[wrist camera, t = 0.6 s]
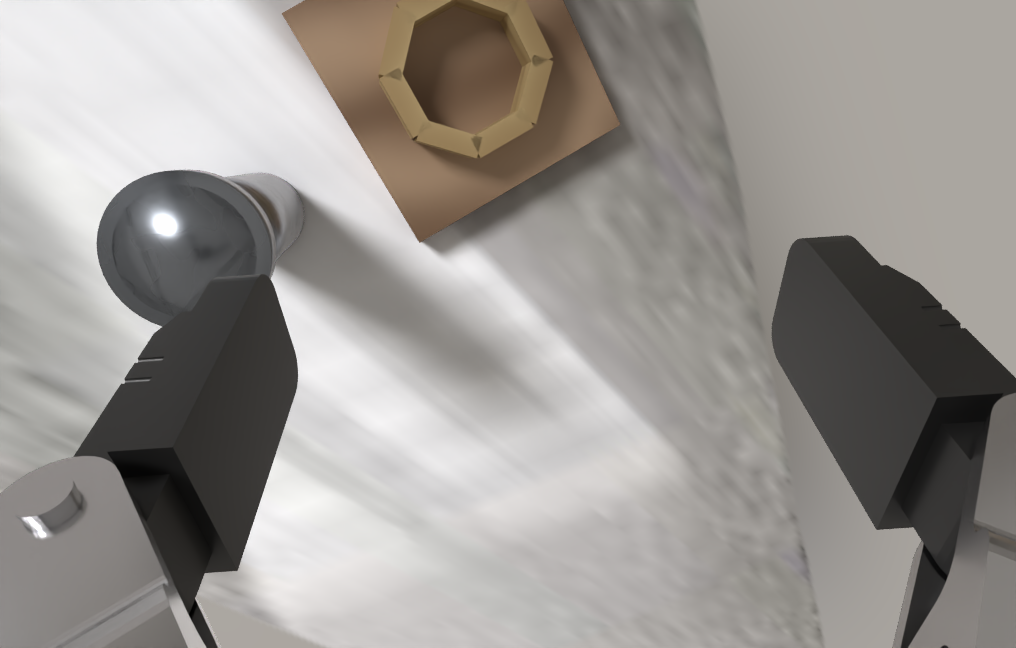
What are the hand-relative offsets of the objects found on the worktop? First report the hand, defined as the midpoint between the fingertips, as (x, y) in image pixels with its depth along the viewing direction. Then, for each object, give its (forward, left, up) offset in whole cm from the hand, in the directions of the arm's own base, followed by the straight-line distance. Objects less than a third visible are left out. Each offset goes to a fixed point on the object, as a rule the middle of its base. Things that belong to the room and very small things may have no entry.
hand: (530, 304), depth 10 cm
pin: (-3, -7, -25) cm, 26 cm away
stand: (-4, +5, -25) cm, 26 cm away
